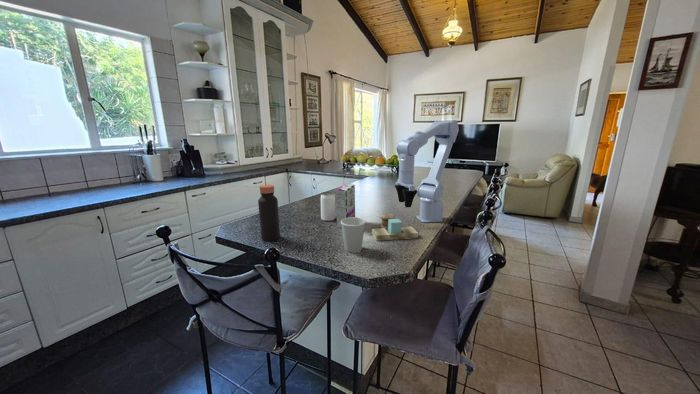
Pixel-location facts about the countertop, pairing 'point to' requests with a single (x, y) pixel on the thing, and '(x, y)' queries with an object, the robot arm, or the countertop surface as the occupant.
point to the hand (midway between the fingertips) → (404, 204)
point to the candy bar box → (345, 203)
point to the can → (327, 206)
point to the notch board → (394, 234)
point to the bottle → (268, 214)
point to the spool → (386, 220)
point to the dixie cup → (353, 233)
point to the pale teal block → (394, 226)
